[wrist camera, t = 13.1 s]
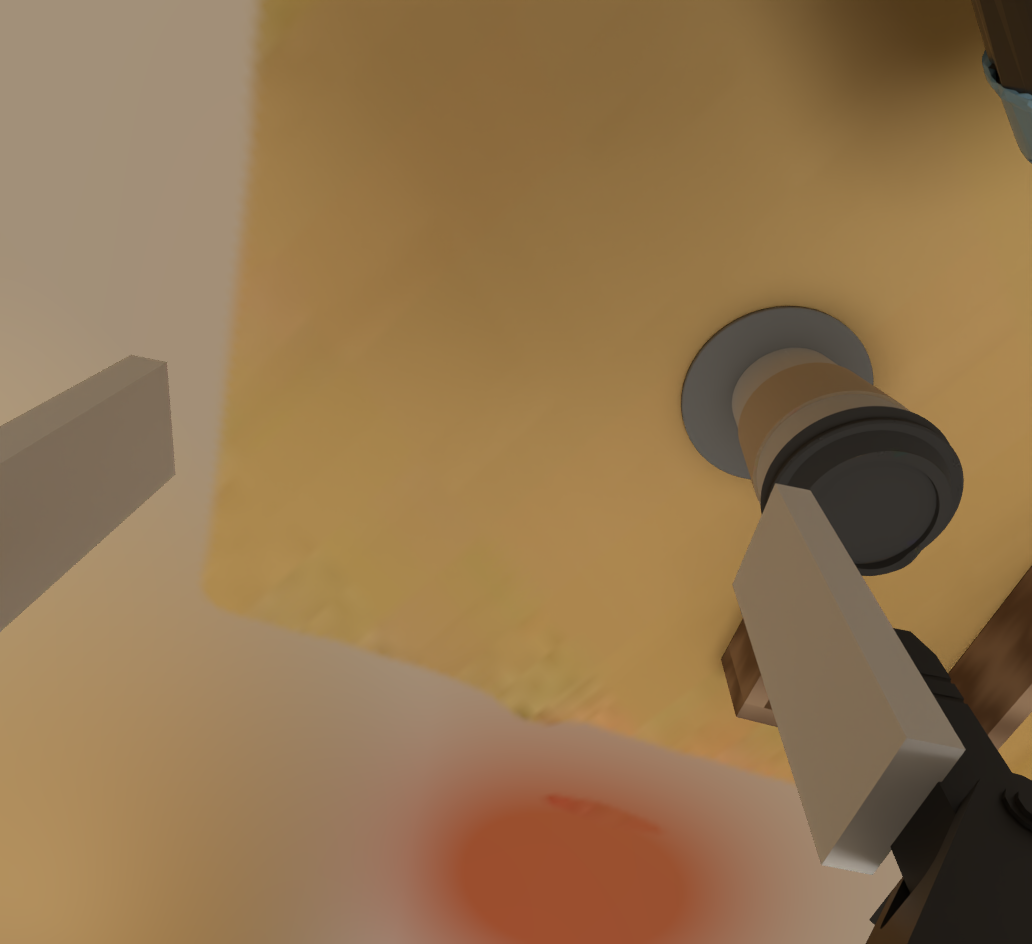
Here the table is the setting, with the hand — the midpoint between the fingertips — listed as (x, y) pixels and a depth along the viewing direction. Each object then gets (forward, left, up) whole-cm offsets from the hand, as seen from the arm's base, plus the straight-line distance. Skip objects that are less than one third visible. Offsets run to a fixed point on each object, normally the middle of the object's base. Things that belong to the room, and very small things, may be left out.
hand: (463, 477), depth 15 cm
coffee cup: (+5, +18, -30) cm, 35 cm away
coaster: (+5, +18, -30) cm, 36 cm away
